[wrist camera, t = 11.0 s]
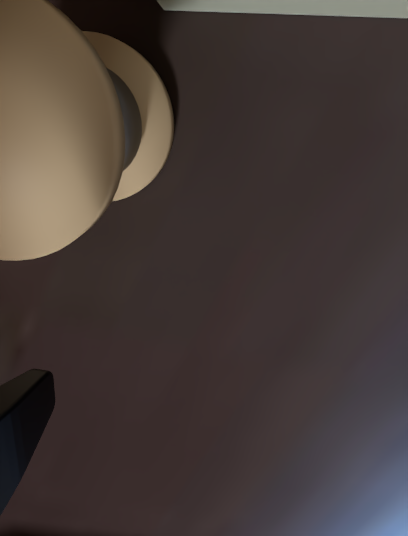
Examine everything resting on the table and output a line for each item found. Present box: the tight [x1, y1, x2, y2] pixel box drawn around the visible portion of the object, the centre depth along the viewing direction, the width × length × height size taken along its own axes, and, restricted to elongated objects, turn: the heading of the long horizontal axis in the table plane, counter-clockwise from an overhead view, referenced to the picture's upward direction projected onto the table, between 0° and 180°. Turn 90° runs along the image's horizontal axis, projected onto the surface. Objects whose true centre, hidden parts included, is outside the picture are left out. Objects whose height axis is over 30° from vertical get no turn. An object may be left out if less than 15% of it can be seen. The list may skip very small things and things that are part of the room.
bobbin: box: [0, 0, 174, 260], centre depth 13 cm, size 7×7×8 cm
